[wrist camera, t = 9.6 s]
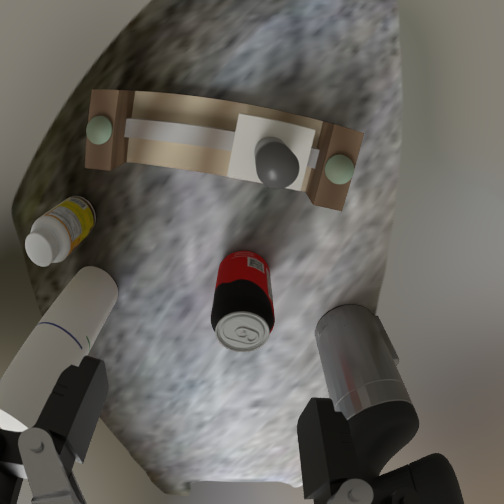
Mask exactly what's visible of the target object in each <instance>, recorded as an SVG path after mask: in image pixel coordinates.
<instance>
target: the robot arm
mask: <svg viewBox="0 0 504 504" xmlns="http://www.w3.org/2000/svg"><path fill="white" fill-rule="evenodd" d="M315 337H316V341H317V347H318V350H319V354H320V359H321V363H322V367H323V371H324V375H325V380H326V384H327V388H328V393H329V397H330V398H311V399H310V401H309V402H308V404H307V406H306V407H305V409H304V411H303V412H302V414H301V415H300V417H299V420H298V424H297V434H298V443H299V452H300V461H301V471H302V480H303V489H304V499H314V504H464V501H463V498H462V494H461V490H460V487H459V483H458V480H457V477H456V475H455V472H454V470H453V468H452V466H451V464H450V463H449V461H448V460H447V459H446V457H444V456H443V455H442V454H439V453H434V454H431V455H428V456H426V457H423V458H421V459H419V460H417V461H414V462H412V463H410V464H409V465H408V464H407V465H405V466H403V467H400V468H398V469H396V470H393V471H391V472H388V473H385V474H383V475H381V476H379V474H380V472H381V470H382V469H383V467H384V466H385V465H386V463H387V462H388V461H389V460H390V459H391V458H392V457H393V456H394V455H395V454H396V453H397V452H398V451H399V450H400V449H402V448H403V447H404V446H405V445H406V444H408V443H409V442H410V441H411V440H412V438H413V437H414V436H415V434H416V433H417V431H418V428H419V419H418V416H417V413H416V411H415V408H414V406H413V404H412V401H411V399H410V397H409V394H408V392H407V389H406V387H405V385H404V383H403V381H402V378H401V376H400V374H399V371H398V369H397V367H396V366H397V364H398V363H399V358H398V356H397V354H396V351H395V349H394V347H393V345H392V343H391V341H390V339H389V337H388V335H387V333H386V331H385V329H384V327H383V325H382V323H381V321H380V319H379V317H378V316H374V315H372V314H371V313H370V311H369V310H368V309H366V308H365V307H362V306H360V305H345V306H340V307H338V308H335V309H333V310H331V311H330V312H328V313H327V314H326V315H325V316H323V317H322V319H321V320H320V321H319V323H318V324H317V326H316V330H315ZM107 394H108V380H107V374H106V368H105V363H104V361H103V360H100V359H96V358H93V357H90V356H87V355H86V356H84V357H83V359H82V361H81V362H80V364H79V366H78V367H77V366H74V365H70V366H69V367H68V368H66V369H65V370H64V371H63V372H62V373H61V374H60V376H59V378H58V380H57V382H56V385H55V386H54V388H53V390H52V393H50V395H49V397H48V399H47V401H46V403H45V405H44V407H43V409H42V411H41V413H40V416H39V418H38V420H37V422H36V423H35V425H34V426H33V427H32V428H28V429H26V430H25V431H23V432H15V431H9V430H3V429H0V504H17V500H18V496H19V492H20V488H21V485H22V481H23V478H25V479H28V482H29V485H30V488H31V491H32V494H33V498H32V504H87V503H86V501H85V499H84V496H83V494H82V492H81V490H80V487H79V485H78V483H77V481H76V478H75V476H74V474H73V471H72V468H73V465H74V461H76V462H79V463H82V464H83V462H84V459H85V456H86V453H87V450H88V447H89V444H90V441H91V438H92V436H93V432H94V430H95V427H96V424H97V421H98V419H99V416H100V413H101V411H102V408H103V405H104V403H105V400H106V397H107Z"/></svg>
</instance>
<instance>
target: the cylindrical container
mask: <svg viewBox="0 0 504 504" xmlns="http://www.w3.org/2000/svg"><path fill="white" fill-rule="evenodd" d="M117 298H118V288H117V285H116V283H115V281H114V280H113V278H112V277H111V276H110V275H109V274H108V273H107V272H105V271H104V270H102V269H100V268H97V267H93V266H87V267H84V268H82V269H80V270H79V271H78V273H77V274H76V275H75V276H74V277H73V279H72V280H71V281H70V282H69V284H68V285H67V286H66V287H65V289H64V290H63V291H62V292H61V294H60V295H59V296H58V298H57V299H56V300H55V301H54V303H53V304H52V305H51V307H50V308H49V309H48V311H47V312H46V313H45V315H44V316H43V317H42V319H41V320H40V322H39V323H38V324H37V325H36V327H35V328H34V330H33V331H32V333H31V334H30V335H29V337H28V338H27V340H26V341H25V343H24V344H23V346H22V347H21V349H20V350H19V352H18V353H17V355H16V356H15V358H14V359H13V361H12V362H11V364H10V365H9V367H8V368H7V370H6V372H5V373H4V375H3V376H2V378H1V380H0V427H1V428H2V429H3V430H9V431H15V432H23V431H25V430H26V429H28V428H32V427H33V426H34V425H35V423H36V422H37V420H38V418H39V416H40V413H41V411H42V409H43V407H44V405H45V403H46V401H47V399H48V397H49V395H50V393H52V390H53V388H54V386H55V385H56V382H57V380H58V378H59V376H60V374H61V373H62V372H63V371H64V370H65V369H66V368H68V367H69V366H70V365H74V366H77V367H78V366H79V364H80V362H81V361H82V359H83V357H84V356H86V355H88V353H89V351H90V349H91V347H92V345H93V343H94V341H95V339H96V337H97V336H98V334H99V332H100V330H101V328H102V326H103V324H104V322H105V321H106V319H107V317H108V315H109V313H110V311H111V310H112V308H113V306H114V304H115V303H116V301H117Z"/></svg>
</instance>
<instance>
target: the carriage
mask: <svg viewBox="0 0 504 504" xmlns="http://www.w3.org/2000/svg"><path fill="white" fill-rule="evenodd" d="M315 131H316V130H314V129H312V128H308V127H304V126H300V125H296V124H292V123H287V122H283V121H278V120H274V119H269V118H264V117H259V116H254V115H248V114H243V113H239V116H238V121H237V126H236V131H235V136H234V141H233V147H232V152H231V157H230V162H229V168H228V173H227V177H231V178H236V179H242V180H247V181H252V182H258V183H263V184H264V185H266V186H268V187H270V188H273V189H282V188H288V189H293V190H297V191H301V187H302V183H303V179H304V175H305V171H306V167H307V163H308V159H309V155H310V151H311V147H312V143H313V139H314V135H315Z"/></svg>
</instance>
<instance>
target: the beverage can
mask: <svg viewBox="0 0 504 504" xmlns="http://www.w3.org/2000/svg"><path fill="white" fill-rule="evenodd" d="M274 322H275V317H274V308H273V299H272V289H271V280H270V271H269V267H268V265H267V263H266V261H265V260H264V259H263V258H262V257H261V256H259V255H258V254H256V253H254V252H250V251H237V252H234V253H231V254H230V255H228V256H227V257H226V258H225V259H224V260H223V261H222V262H221V264H220V266H219V270H218V276H217V282H216V288H215V294H214V300H213V307H212V313H211V324H212V327H213V330H214V331H215V334H216V338H217V340H218V341H219V343H220V344H221V345H223V346H224V347H225V348H227V349H229V350H232V351H236V352H250V351H254V350H256V349H258V348H260V347H262V346H263V345H264V344H265V343H266V342H267V340H268V338H269V334H270V333H271V331H272V329H273V326H274Z"/></svg>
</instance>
